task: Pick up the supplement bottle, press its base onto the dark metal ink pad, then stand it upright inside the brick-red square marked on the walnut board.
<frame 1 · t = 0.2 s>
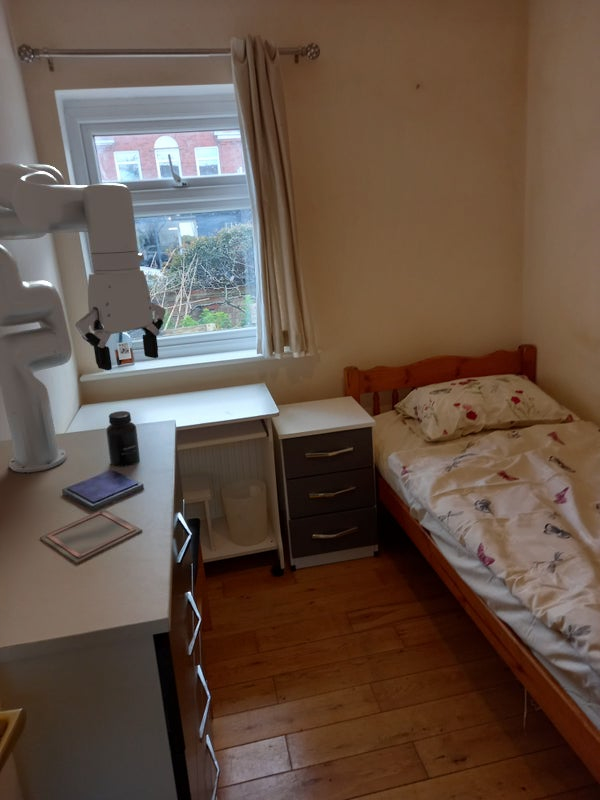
hand: (129, 362, 99), 31 cm above the dresser, tool pointing down, fingers open, 9 cm apart
marked board: (91, 535, 104), on the dresser
supplement bottle: (125, 462, 135), on the dresser
ink pad: (103, 491, 120), on the dresser
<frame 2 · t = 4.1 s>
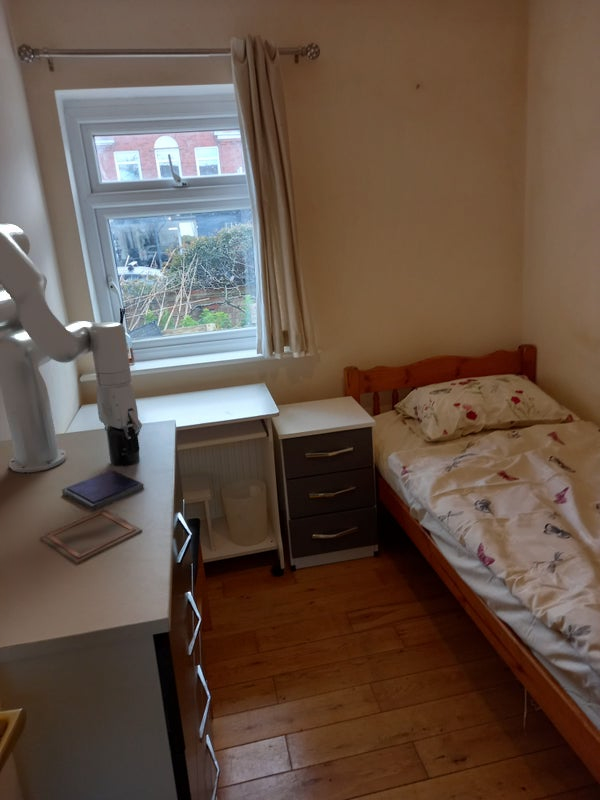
hand: (123, 448, 134), 3 cm above the dresser, tool pointing down, fingers closed on supplement bottle, 6 cm apart
supplement bottle: (125, 462, 135), on the dresser, touching gripper
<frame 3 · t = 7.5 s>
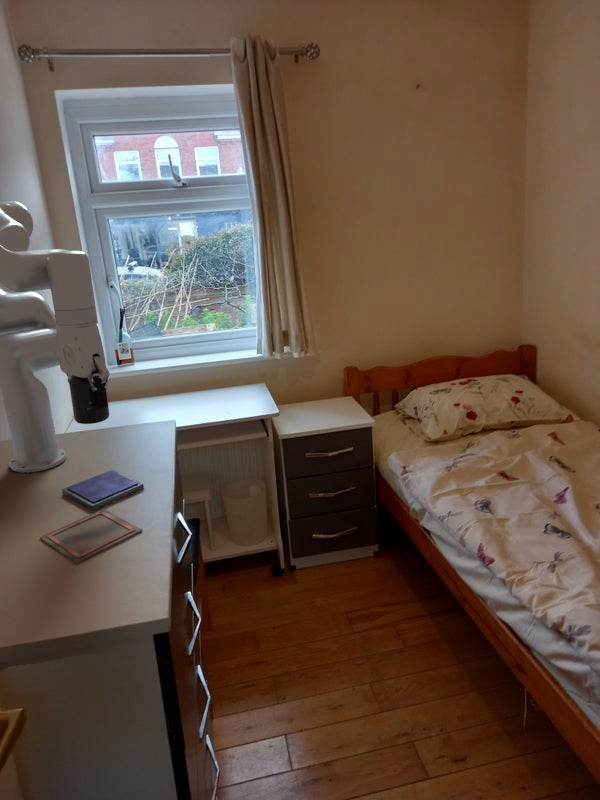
hand: (90, 404, 114), 20 cm above the dresser, tool pointing down, fingers closed on supplement bottle, 6 cm apart
supplement bottle: (93, 420, 116), point 16 cm above the dresser, touching gripper
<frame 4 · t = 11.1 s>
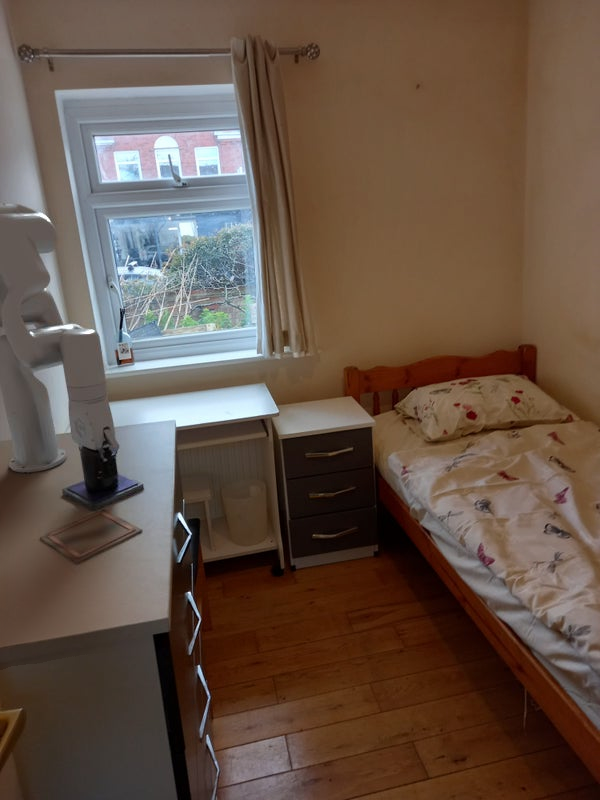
hand: (100, 471, 119), 5 cm above the dresser, tool pointing down, fingers closed on supplement bottle, 6 cm apart
supplement bottle: (102, 486, 120), point 1 cm above the dresser, touching gripper, ink pad
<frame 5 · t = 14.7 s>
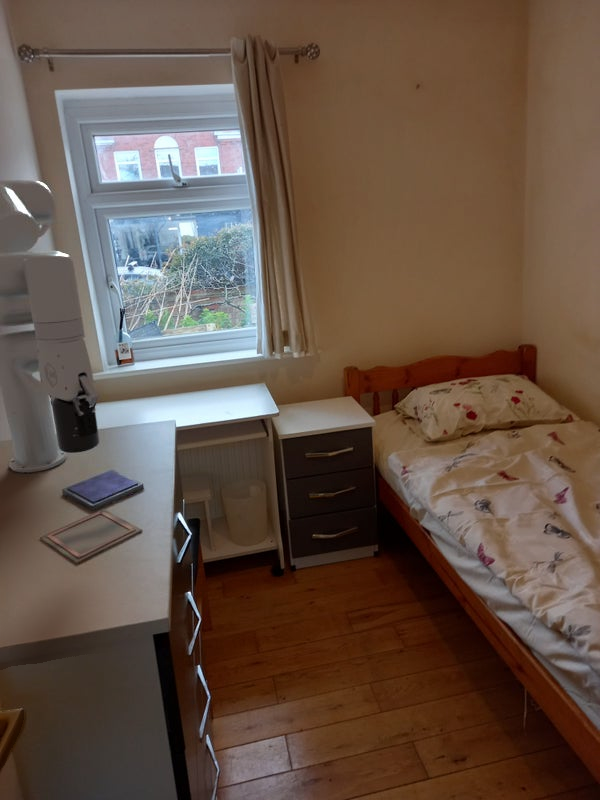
hand: (76, 429, 99), 20 cm above the dresser, tool pointing down, fingers closed on supplement bottle, 6 cm apart
supplement bottle: (80, 447, 100), point 17 cm above the dresser, touching gripper
when the fingers open (5 cm above the dresser, at t = 18.2 s): supplement bottle drops 2 cm, resting on marked board.
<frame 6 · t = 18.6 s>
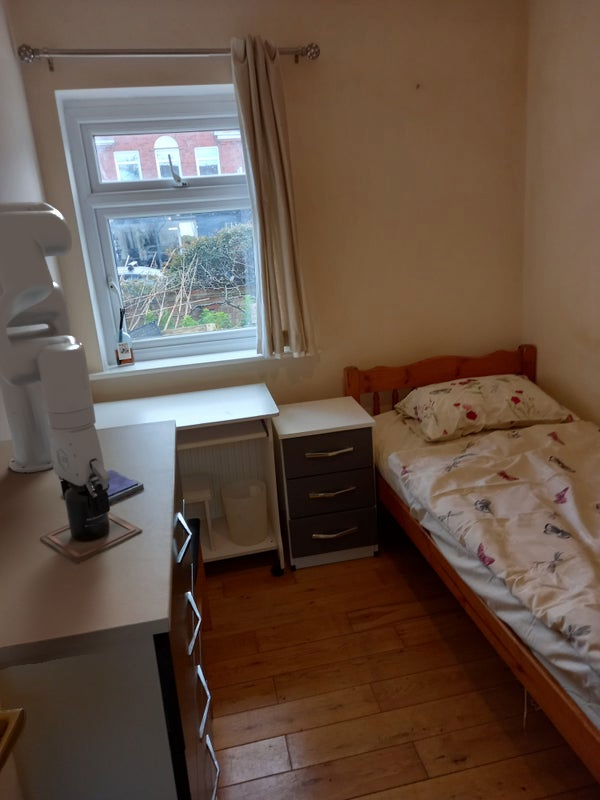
hand: (86, 505, 102), 6 cm above the dresser, tool pointing down, fingers open, 9 cm apart
supplement bottle: (91, 533, 104), resting on marked board
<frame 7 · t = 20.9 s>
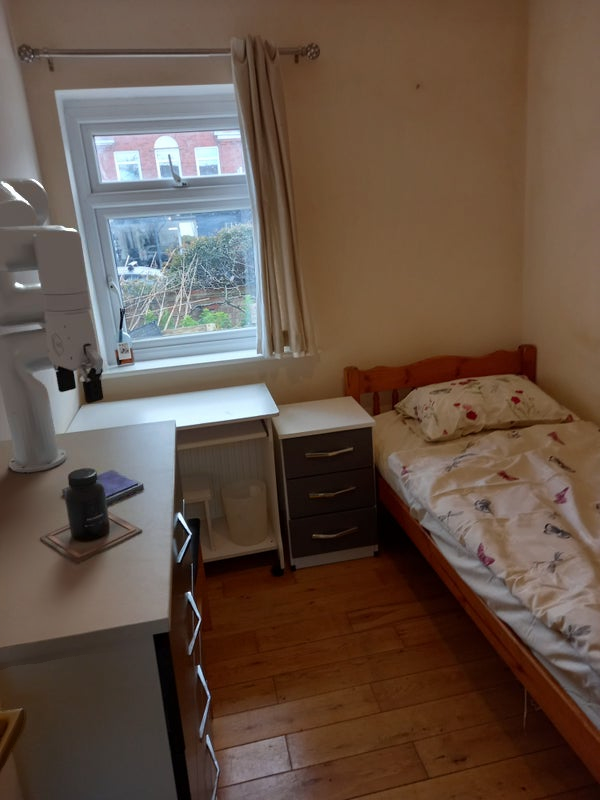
hand: (80, 395, 104), 24 cm above the dresser, tool pointing down, fingers open, 9 cm apart
nothing on the dresser moved.
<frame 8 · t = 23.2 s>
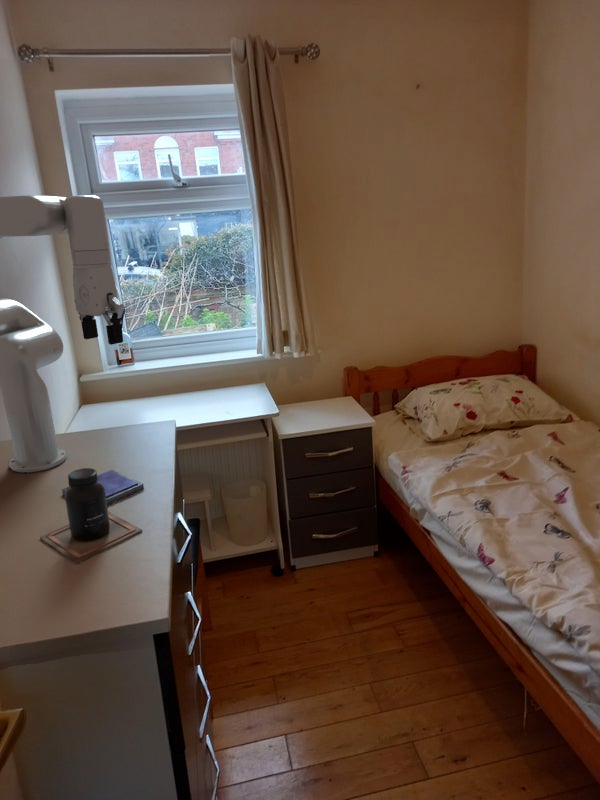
hand: (103, 340, 122), 30 cm above the dresser, tool pointing down, fingers open, 9 cm apart
nothing on the dresser moved.
at the end: supplement bottle 0.2 cm off-centre on the marked board, point 0.2 cm above the marked board's base; supplement bottle tilted 0°; the gripper is holding nothing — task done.
